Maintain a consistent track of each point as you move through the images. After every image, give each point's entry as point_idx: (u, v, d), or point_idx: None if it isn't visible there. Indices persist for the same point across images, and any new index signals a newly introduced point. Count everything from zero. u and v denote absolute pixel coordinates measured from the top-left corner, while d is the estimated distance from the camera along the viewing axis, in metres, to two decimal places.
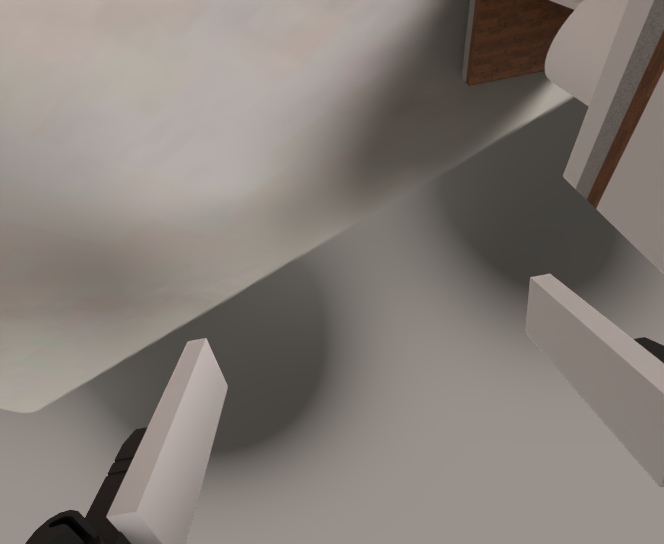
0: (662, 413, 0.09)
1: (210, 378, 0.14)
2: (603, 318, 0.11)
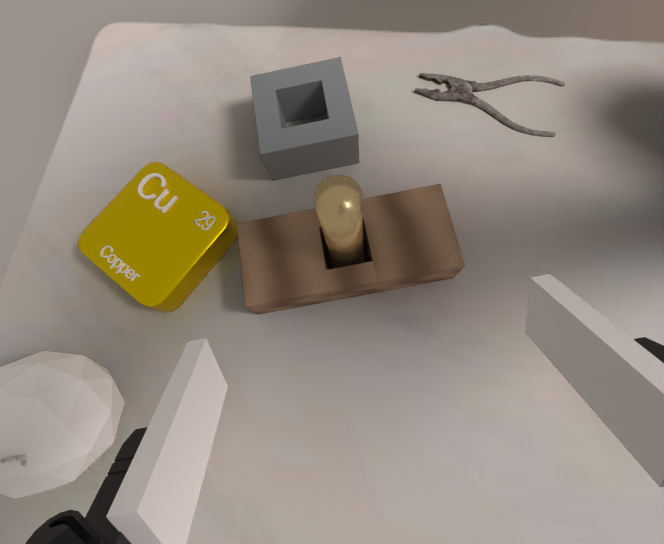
0: (662, 413, 0.09)
1: (210, 378, 0.14)
2: (603, 318, 0.11)
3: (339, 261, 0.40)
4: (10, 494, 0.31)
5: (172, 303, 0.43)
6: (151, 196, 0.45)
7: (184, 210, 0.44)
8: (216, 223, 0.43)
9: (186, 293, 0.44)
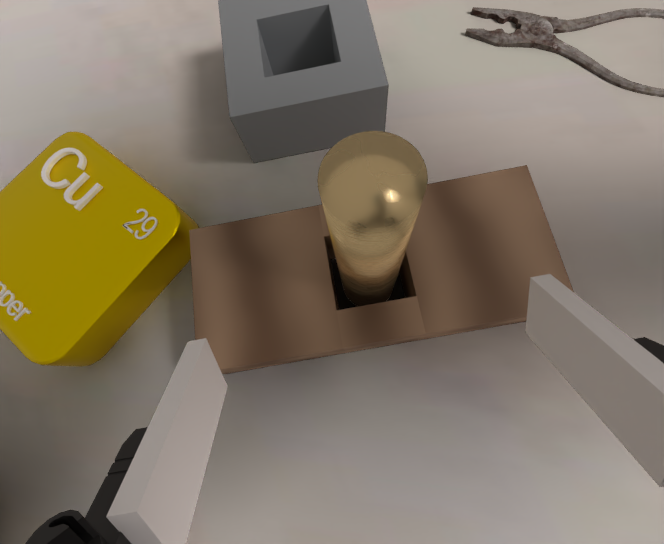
0: (662, 413, 0.09)
1: (210, 378, 0.14)
2: (603, 318, 0.11)
3: (358, 294, 0.24)
4: None
5: (86, 356, 0.27)
6: (60, 183, 0.28)
7: (110, 206, 0.28)
8: (158, 229, 0.27)
9: (112, 338, 0.28)
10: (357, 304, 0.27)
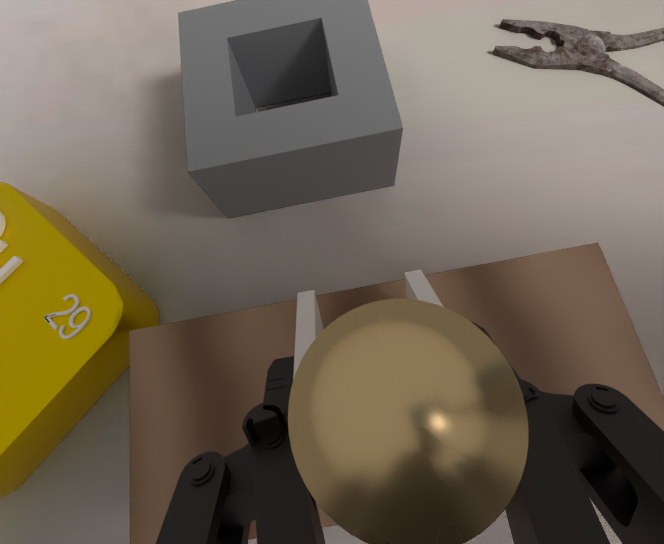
0: None
1: (320, 324, 0.16)
2: None
3: None
4: None
5: None
6: None
7: (31, 288, 0.21)
8: (91, 325, 0.20)
9: (31, 464, 0.21)
10: None
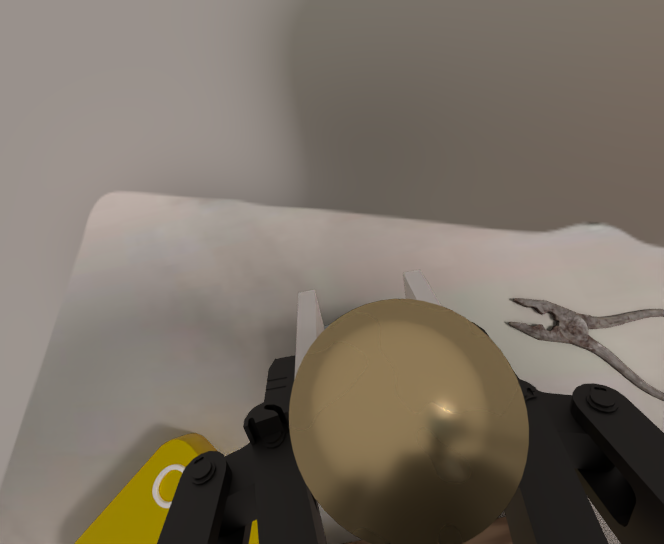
0: None
1: (320, 324, 0.16)
2: None
3: None
4: None
5: None
6: None
7: None
8: None
9: None
10: None
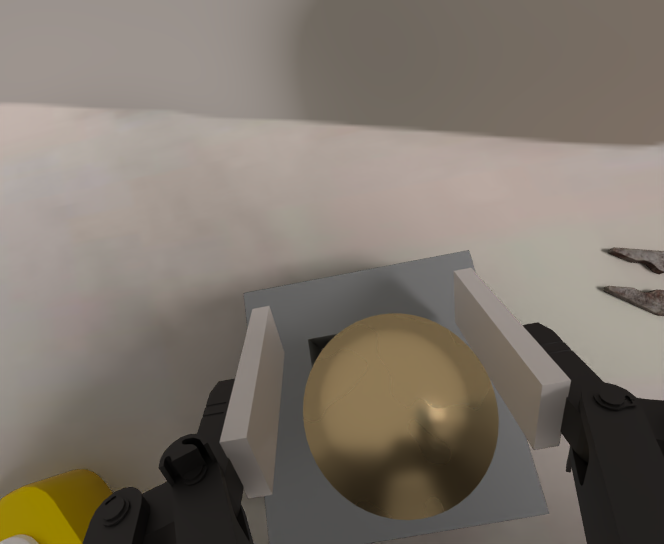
0: (529, 384, 0.10)
1: (274, 342, 0.15)
2: (502, 306, 0.13)
3: None
4: None
5: None
6: None
7: None
8: None
9: None
10: None
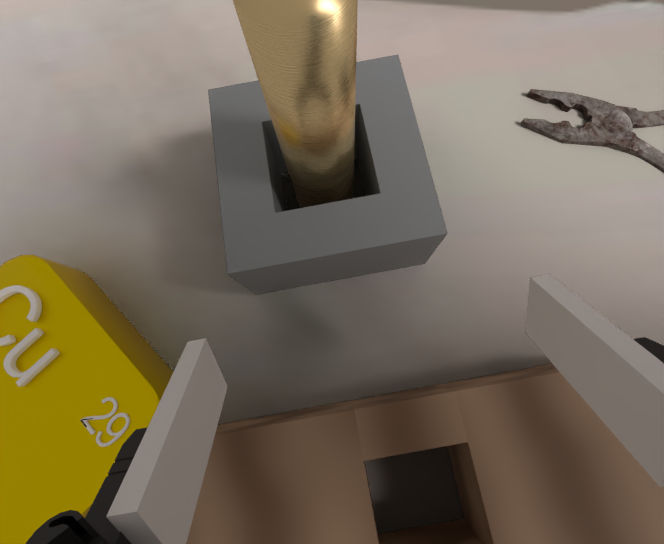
0: (662, 413, 0.09)
1: (210, 378, 0.14)
2: (603, 318, 0.11)
3: (310, 198, 0.22)
4: None
5: None
6: (1, 342, 0.20)
7: (67, 385, 0.20)
8: (130, 433, 0.19)
9: None
10: None
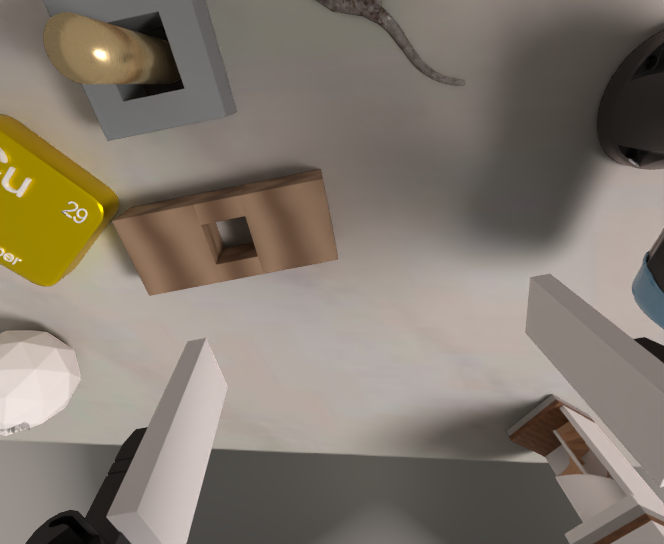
0: (662, 413, 0.09)
1: (210, 378, 0.14)
2: (603, 318, 0.11)
3: None
4: None
5: None
6: None
7: (45, 195, 0.39)
8: (89, 217, 0.41)
9: (77, 262, 0.46)
10: None
